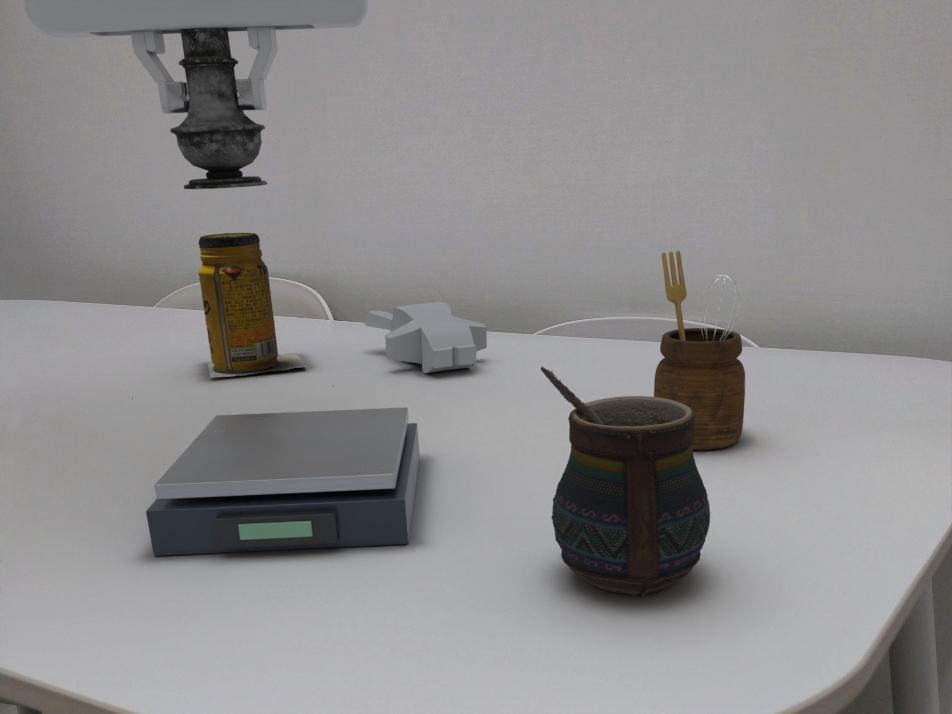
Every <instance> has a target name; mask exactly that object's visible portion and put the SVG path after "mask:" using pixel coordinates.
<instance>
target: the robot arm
mask: <svg viewBox="0 0 952 714" xmlns="http://www.w3.org/2000/svg"><path fill="white" fill-rule="evenodd" d="M23 2H24V8H25V12H26V15H27V17H28V19H29V20H30V21H31V22H32V23H33V24H34V25H35V27H37V29H39V31H41V32H42V33H43V34H45V35H48V36H52V37H55V38H67V39H68V38H95V37H96V38H97V37H99V38H100V37H120V36H121V37H124V36H125V37H126V36H130V37H131V43H132V50H133V53H134V55H135V56H136V57H137V59H138V60H139V62H140V63H141V64H142V66H143V67H144V69H145V70H146V72H147V73H148V74H149V75H150V77H151V78H152V79H153V81H154V82H155V83H157V88H158V95H159V99H160V100H159V101H160V107H161V110H162V112H163V114H171V115H172V114H188V107H189V94H188V87H187V82H184V81H175V80H174V79H173V77H172V75H171V74H170V72H169V71H168V70H167V68H166V66H165V65H164V63H163V62H162V61H161V59H160V58H159V56H158V55H164V54H165V53H166V47H165V45H166V44H165V39H164V35H178V34H179V35H181V31H180V29H190V28H226V27H227V28H228V33H232V32H235V33H236V32H237V33H238V32H247V39H248V47H250V48H251V49H254V50H256V51H257V53H256V56H255V58H254V61H253V64H252V67H251V68H250V72H249V74H248V78H237V79H236V80H235V82H236V90H237V94H238V105H239V108H240V110H243V111H266V110H267V97H266V88H265V81H264V80H267V78H268V75H269V72H270V70H271V68H272V65H273V63H274V60H275V58H276V56H277V53H278V49H279V48H278V39H277V31H287V30H288V31H289V30H291V31H293V30H317V29H343V28H345V29H346V28H347V29H348V28H357V27H359V26H360V25H361V23H362V22H363V21H364V19H365V18H366V16H367V14H368V12H369V5H368V4H369V3H368V0H23Z"/></svg>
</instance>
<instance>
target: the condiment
mask: <svg viewBox="0 0 952 714" xmlns="http://www.w3.org/2000/svg"><path fill="white" fill-rule="evenodd" d="M260 242H261V240H260V236H259V235H258V234H257V233H256V232H255V233H254V232H224V233H213V234H206V235H201V236H200V237H199V239H198V246H199V253H200V255H199V257H200V261H201V263H202V264H201V265H200V268H199V270H198V277H199V283H200V291H201V298H202V304H203V314H204V316H205V317H204V318H205V319H204V320H205V326H206V332H207V340H208V345H209V351H210V352H209V353H210V358H211V359H210V360H211V361H207V362H206V363H207V367H208V371H209V376H210V379H213V378H226V377H229V378H230V377H236V376H240V377H241V376H248V375H256V374H260V373H261V374H263V373H266V372H276V371H287V370H291V369H297V368H299V369H300V368H307V365H305V363H304V362H303V361H302V359H301V357H300V355H299V354H298V353H286V354H279V350H278V342H277V334H276V326H275V325H276V324H275V317H274V310H273V303H272V294H271V293H272V292H271V284H270V277H269V276H270V275H269V269H268V266H267V265H266V264H265V262H264V261H263V259H262V256H263V251H262V250H261V245H260V244H261V243H260Z"/></svg>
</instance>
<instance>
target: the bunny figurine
mask: <svg viewBox="0 0 952 714" xmlns="http://www.w3.org/2000/svg"><path fill="white" fill-rule="evenodd" d="M364 326H366V327H370V328H375V329H382V330H388V331H390V332H388V333H386V334H385V335H384V339H385V340H384V341H385V358H386V359H387V360H390V361H399V362H405V363H415V364H419V365H421V371H422V373H423V374H430V373H437V372H445V371H455V370H461V369H468V368H471V367H472V366H473V364H477V352H479V351H482V350H484V349H487V348H488V347H487V346H488V345H487V344H488V342H487V341H488V340H487V339H488V336H487V335H488V333H487V331H488V330H487V329H488V328H487V325H486V324H485V323H482V322H477V321H473V320H470V319H465V318H461V317H457V316H456V315H452V309H451V307H450V305H449V304H448V303H446V302H444V301H435V302H425V303H416V304H407V305H397V306H394V307H393V312H392V313H391V312H388V311H384V310H369V311H368V313H367V316H366V319H365V322H364Z"/></svg>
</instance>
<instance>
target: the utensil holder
mask: <svg viewBox="0 0 952 714" xmlns="http://www.w3.org/2000/svg"><path fill="white" fill-rule="evenodd" d="M675 257H676V258H675ZM675 259H676V262H675ZM668 260H669V265H668ZM661 262H662V271H663V280H664V287H665V295H666V300H667V301H668V302H670V303H672V304H673V305H674V308H675V316H676V324H677V329H673V330H669V331H666V332H665V333H663V334H662V336H661V340H660V346H659V352H660V354H661V355H662V356H663V357H664V358H661V360H660V361H659V362H658V364H657V366H656V369H655V372H654V379H653V380H654V383H653V397H659V398H665V399H670V400H673V401H677V402H680V403H682V404H685V405H687V406H689V407H690V408H692V410H693V411H694V413H695V422H694V428H695V437H694V440H693V442H692V450H693V451H706V450H707V451H709V450H710V451H711V450H718V449H723V448H727V447H731V446H732V445H734V444H736V443H737V442H738V441H740V438H741V437H742V433H743V428H744V417H745V416H744V415H745V400H746V372H745V366H744V365H743V362H742V361H741V360H740V359H739V357H740V356H741V354H742V352H743V343H742V337H741V334H740V333H738V332H736V331H734V330H733V328H734V326H735V323H736V321H737V318H738V315H739V309H740V303H741V295H742V291H741V287H740V284H739V282H738V281H737V279H735V278H734V277H733V276H732V275H726V274H718V275H716V276H713V277H712V278H711V279H709V281H707V283H706V284H705V286H704V289H703V291H702V296H701V301H700V306H699V312H701V310H702V303H703V298H704V295H705V290H706V288H707V285H708V284H709V283H710V285H709V288H708V293H707V298H706V303H705V309H704V316H703V317H704V318H703V327H702V322H701V320H699V326H700V327H689V328H688V327H686V328H685V325H684V318H683V310H682V302H684V301H685V299H686V298H687V296H688V295H687V288H686V287H687V286H686V280H685V274H684V268H683V262H682V255H681V251H680V250H676V252H675V256H674V252H673V251H669V252H668V258H667V253H666V252H664V251H663V252H661ZM675 263H676V264H675ZM676 266H677V267H676ZM669 268H670V270H669ZM676 268H677V269H676ZM669 271H670V272H669ZM677 275H678V276H677ZM716 278H717V279H716ZM721 278H723V283H722V288H721V294H720V299H719V304H718V310H717V311H718V312H717V316H716V322H715V325H714V326H715V327H706V325H707V308H708V301H709V296H710V293H711V290H712V288H713V286H714V285H715V283H716V282H718V281H719V279H721ZM726 278H727V279H729V280H730V282H731V284H732V287H733V292H734V296H733V303H732V307H731V311H730V316H729V319H728V321H727V323H726V326H725V328H724V329H723V328H717V325H718V320H719V316H720V310H721V304H722V300H723V294H724V288H725V282H726ZM715 279H716V280H715ZM714 280H715V281H714ZM732 280H733V281H732ZM733 282H734V283H733ZM737 285H738V289H739V300H738V306H737V311H736V315H735V319H734V322H733V323H732V326H731V327H730V324H731V321H732V317H733V313H734V306H735V301H736V293H737V292H736V291H737ZM729 327H730V329H729Z"/></svg>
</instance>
